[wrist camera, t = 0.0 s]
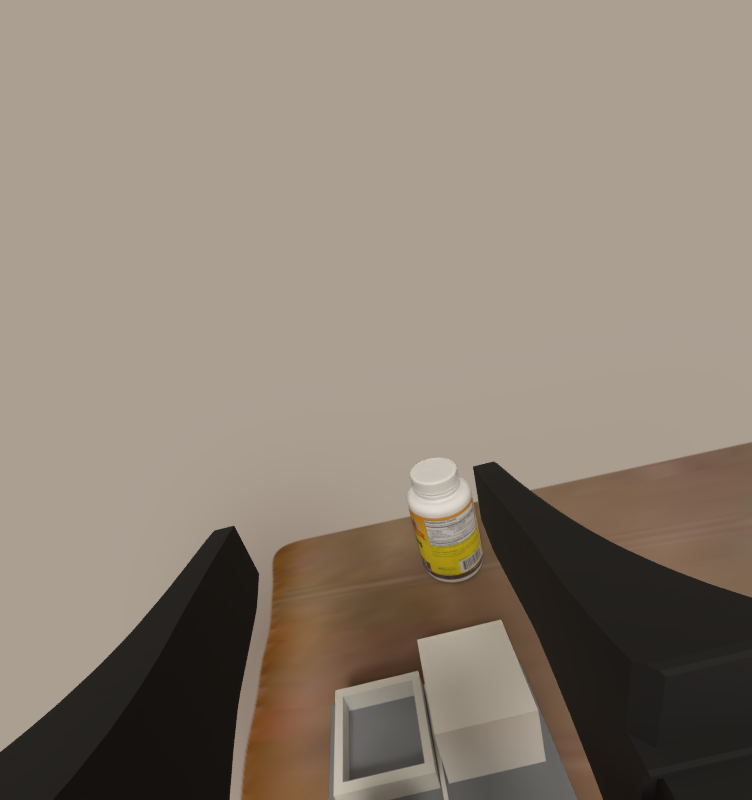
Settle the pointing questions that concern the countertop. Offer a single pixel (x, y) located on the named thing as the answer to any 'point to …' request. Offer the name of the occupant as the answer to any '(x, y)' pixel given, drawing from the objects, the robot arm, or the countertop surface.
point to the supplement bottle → (444, 520)
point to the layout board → (419, 751)
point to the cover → (479, 702)
